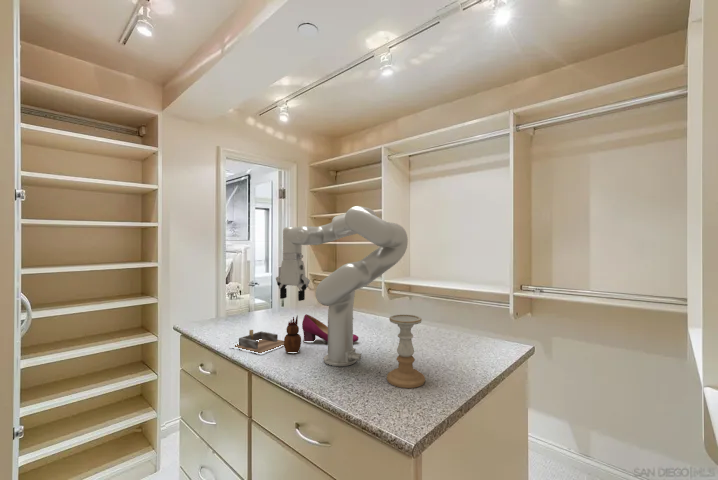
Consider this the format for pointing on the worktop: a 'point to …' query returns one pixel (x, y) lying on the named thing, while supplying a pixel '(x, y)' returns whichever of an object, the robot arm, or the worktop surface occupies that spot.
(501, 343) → the worktop surface
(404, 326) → the candle holder
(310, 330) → the high heel
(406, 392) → the worktop surface
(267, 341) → the board
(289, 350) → the wooden figurine
